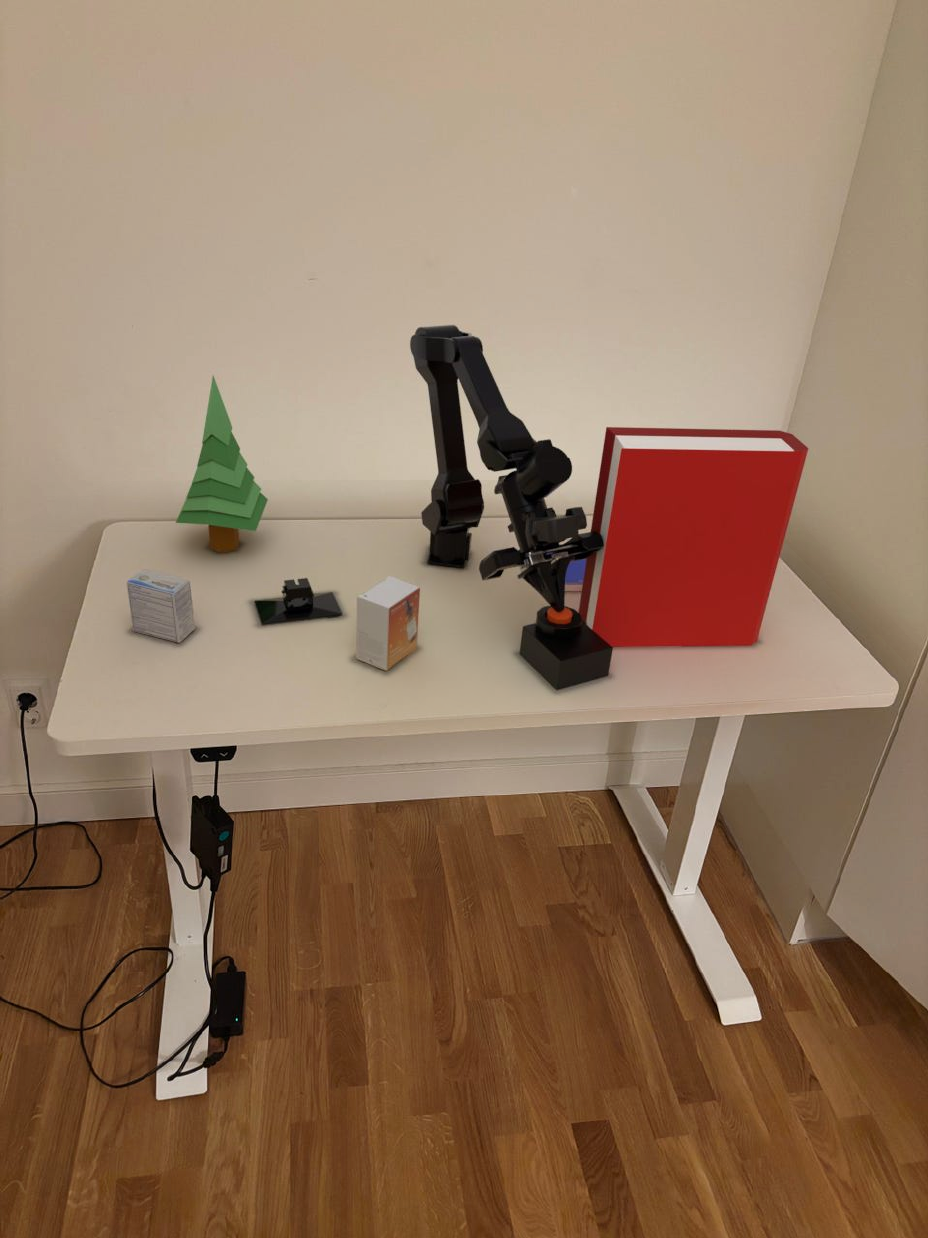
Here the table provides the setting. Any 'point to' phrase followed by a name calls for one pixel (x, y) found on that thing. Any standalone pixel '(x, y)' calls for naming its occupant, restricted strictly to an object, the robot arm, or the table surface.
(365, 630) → the small box
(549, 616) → the button
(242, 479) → the decorative tree
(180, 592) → the medicine box
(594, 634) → the button base
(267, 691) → the table surface
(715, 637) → the book
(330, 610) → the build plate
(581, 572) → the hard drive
